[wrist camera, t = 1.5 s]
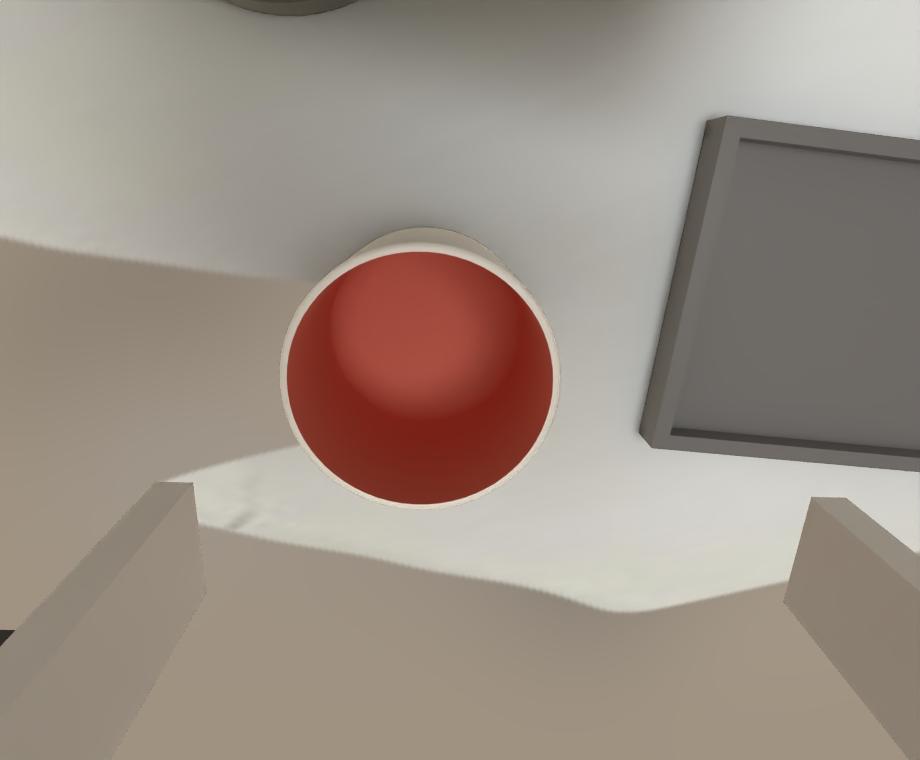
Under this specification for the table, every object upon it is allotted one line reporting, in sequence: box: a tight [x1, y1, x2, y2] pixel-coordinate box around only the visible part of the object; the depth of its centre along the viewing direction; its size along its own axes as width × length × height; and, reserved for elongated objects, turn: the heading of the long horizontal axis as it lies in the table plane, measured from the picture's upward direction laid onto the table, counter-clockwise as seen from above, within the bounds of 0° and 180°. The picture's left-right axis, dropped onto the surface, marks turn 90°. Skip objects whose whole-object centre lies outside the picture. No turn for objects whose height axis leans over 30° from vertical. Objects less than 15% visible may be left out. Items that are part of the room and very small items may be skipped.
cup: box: [279, 227, 561, 510], centre depth 26 cm, size 10×10×10 cm
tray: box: [639, 116, 920, 472], centre depth 30 cm, size 20×16×2 cm
